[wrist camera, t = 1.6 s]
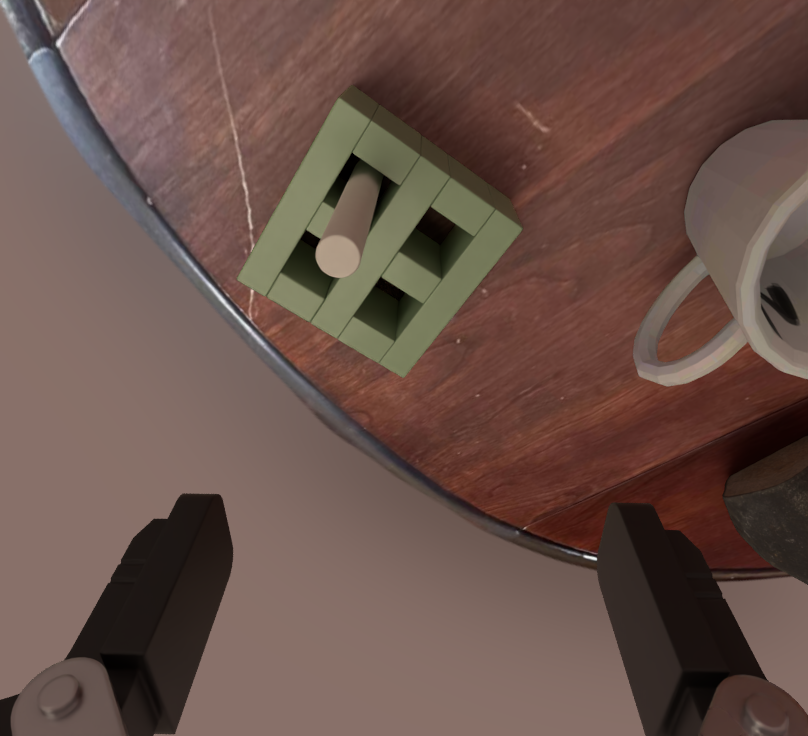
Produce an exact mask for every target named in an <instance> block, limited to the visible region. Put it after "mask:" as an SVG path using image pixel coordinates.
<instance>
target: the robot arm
mask: <svg viewBox="0 0 808 736" xmlns="http://www.w3.org/2000/svg"><path fill="white" fill-rule="evenodd" d="M232 562H233V545H232V540H231V535H230V531H229V526H228V522H227V517H226V513H225V508H224V504H223V500H222V497H221V496H220V495H219V494H182V495H180V497H179V498H178V500H177V501H176V503H175V506H174V508H173V509H172V511H171V513H170V515H169V517H168V519H153V520H152V521H151V522H150V523H149V524H148V525H147V526H146V527H145V528H144V529H142V530H141V531H140V532H139V533H138V534H137V535H136V536H135V537H134V538H133V540H132V541H131V543H130V545H129V547H128V549H127V550H126V552H125V554H124V556H123V558H122V559H121V564H120V565H118V566H117V568H116V570H115V572H114V574H113V575H112V577H111V582H110V583H108V585H107V586H106V588H105V590H104V592H103V593H102V595H101V597H100V599H99V600H98V602H97V604H96V606H95V608H94V610H93V611H92V613H91V615H90V617H89V618H88V620H87V622H86V624H85V626H84V627H83V629H82V631H81V633H80V635H79V636H78V638H77V640H76V642H75V644H74V645H73V647H72V649H71V651H70V652H69V654H68V655H67V657H66V658H65V660H64V661H61V662H59V663H56V664H54V665H52V666H50V667H49V668H47V669H45V670H44V671H43V672H41V673H40V674H38V675H37V676H36V677H35V678H34V679H32V680H31V681H30V682H29V684H28V685H27V686H26V687H25V688H24V689H23V691H22V692H21V693H20V694H18V695H15V696H12V697H9V698H5V699H2V700H0V736H153V735H154V734H175V732H176V729H177V726H178V723H179V720H180V717H181V715H182V712H183V709H184V706H185V703H186V700H187V697H188V694H189V692H190V689H191V686H192V683H193V680H194V677H195V674H196V672H197V669H198V666H199V663H200V660H201V657H202V654H203V652H204V649H205V646H206V643H207V640H208V637H209V634H210V631H211V628H212V625H213V623H214V620H215V617H216V614H217V611H218V608H219V606H220V602H221V600H222V597H223V594H224V591H225V588H226V585H227V582H228V580H229V577H230V573H231V568H232ZM597 573H598V580H599V584H600V588H601V591H602V594H603V598H604V601H605V605H606V608H607V611H608V614H609V618H610V621H611V624H612V627H613V631H614V634H615V637H616V640H617V644H618V647H619V650H620V654H621V657H622V660H623V663H624V667H625V670H626V673H627V676H628V679H629V683H630V686H631V689H632V693H633V696H634V699H635V702H636V706H637V709H638V712H639V715H640V719H641V722H642V725H643V729H644V732H645V735H646V736H808V715H807V714H806V712H805V711H804V709H803V708H802V707H801V706H800V705H799V703H798V702H797V701H796V700H795V699H793V698H792V697H791V696H790V695H789V694H788V693H787V692H785V691H784V690H782V689H781V688H779V687H778V686H776V685H775V684H773V683H771V682H769V681H768V680H767V679H766V677H765V675H764V674H763V672H762V670H761V668H760V666H759V664H758V662H757V660H756V658H755V657H754V654H753V652H752V651H751V649H750V647H749V645H748V643H747V641H746V639H745V637H744V635H743V633H742V631H741V629H740V627H739V625H738V623H737V621H736V619H735V617H734V616H733V614H732V612H731V610H730V608H729V606H728V604H727V602H726V600H725V599H723V597H722V592H721V590H720V588H719V586H718V584H717V582H716V580H715V579H713V578H712V573H711V571H710V569H709V567H708V565H707V563H706V561H705V559H704V557H703V555H702V553H701V551H700V550H699V549H698V548H697V547H696V546H695V545H694V544H693V543H692V542H691V541H690V540H689V539H688V538H687V537H686V536H685V535H683V534H682V533H681V532H680V531H679V530H664V528H663V526H662V523H661V521H660V519H659V517H658V515H657V513H656V511H655V509H654V507H653V506H652V505H651V504H649V503H611V504H610V506H609V509H608V512H607V517H606V521H605V525H604V529H603V533H602V538H601V542H600V546H599V550H598V555H597Z"/></svg>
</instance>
